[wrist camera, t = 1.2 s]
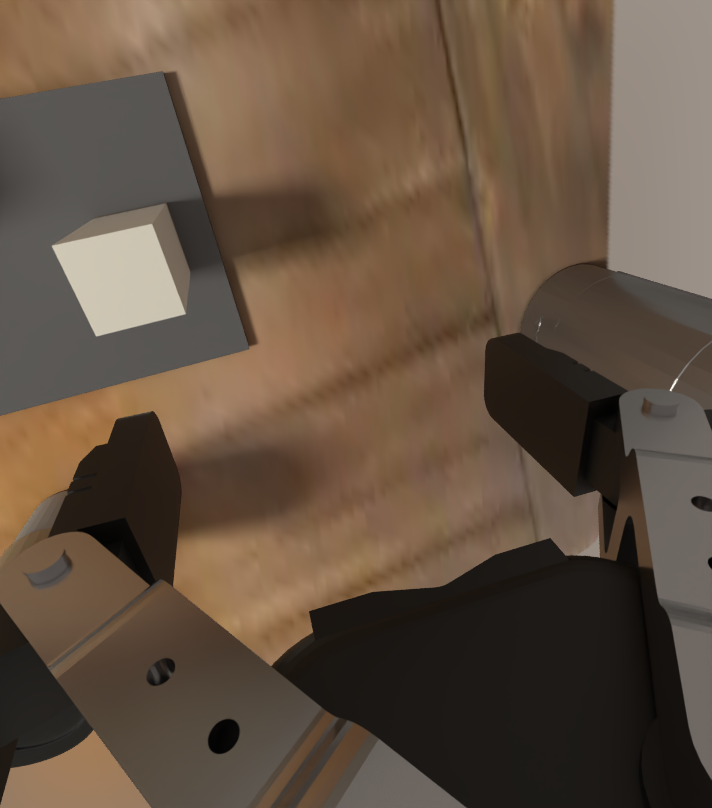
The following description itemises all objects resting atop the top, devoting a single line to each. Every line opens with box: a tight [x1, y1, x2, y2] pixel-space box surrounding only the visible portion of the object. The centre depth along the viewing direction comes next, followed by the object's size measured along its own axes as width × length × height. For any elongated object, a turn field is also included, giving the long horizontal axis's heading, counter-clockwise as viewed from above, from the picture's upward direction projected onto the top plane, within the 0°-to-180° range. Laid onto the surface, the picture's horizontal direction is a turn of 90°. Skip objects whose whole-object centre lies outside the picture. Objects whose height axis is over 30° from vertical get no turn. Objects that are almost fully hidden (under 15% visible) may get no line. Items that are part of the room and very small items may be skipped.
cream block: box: [52, 202, 191, 336], centre depth 24 cm, size 4×4×9 cm
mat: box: [0, 71, 249, 416], centre depth 27 cm, size 24×16×1 cm, turn 100°
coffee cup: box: [0, 490, 93, 768], centre depth 30 cm, size 9×9×15 cm
